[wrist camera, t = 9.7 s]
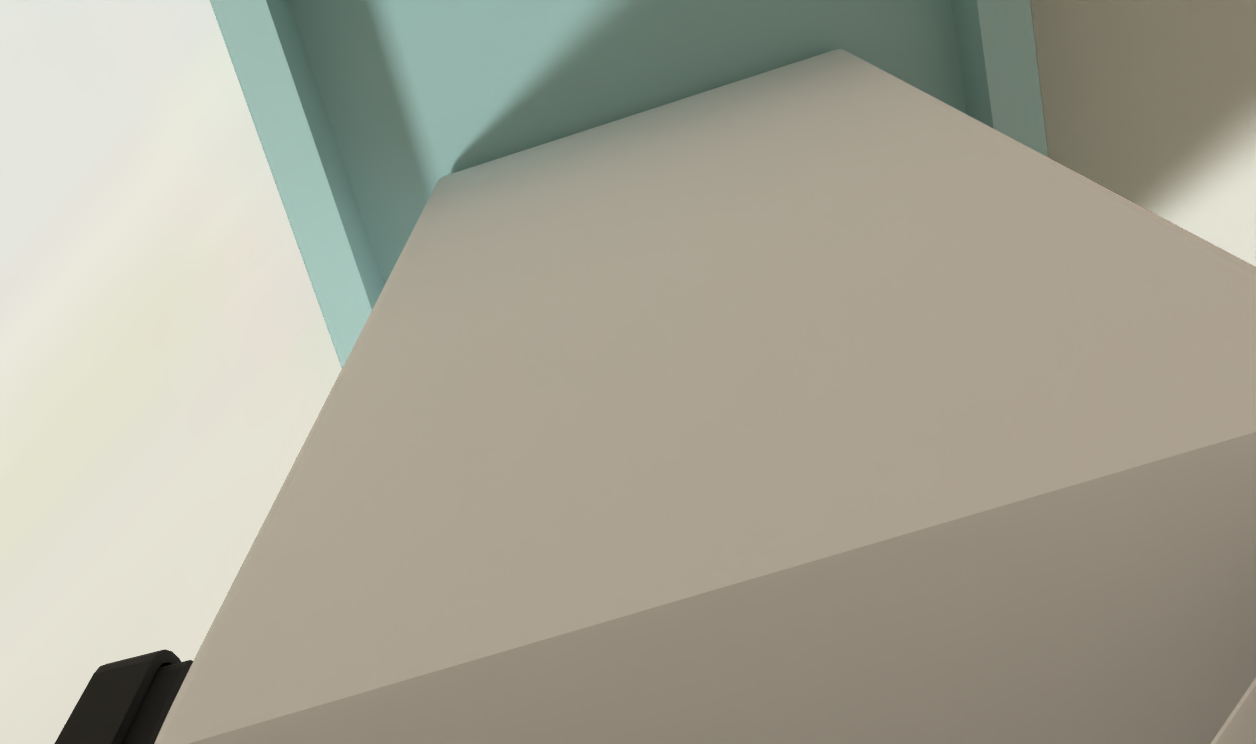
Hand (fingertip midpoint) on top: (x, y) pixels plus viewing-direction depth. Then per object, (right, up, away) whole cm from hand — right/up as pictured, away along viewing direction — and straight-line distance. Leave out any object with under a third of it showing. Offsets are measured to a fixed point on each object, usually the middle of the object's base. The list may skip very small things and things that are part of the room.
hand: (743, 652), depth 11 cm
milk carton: (0, +4, +11) cm, 12 cm away
